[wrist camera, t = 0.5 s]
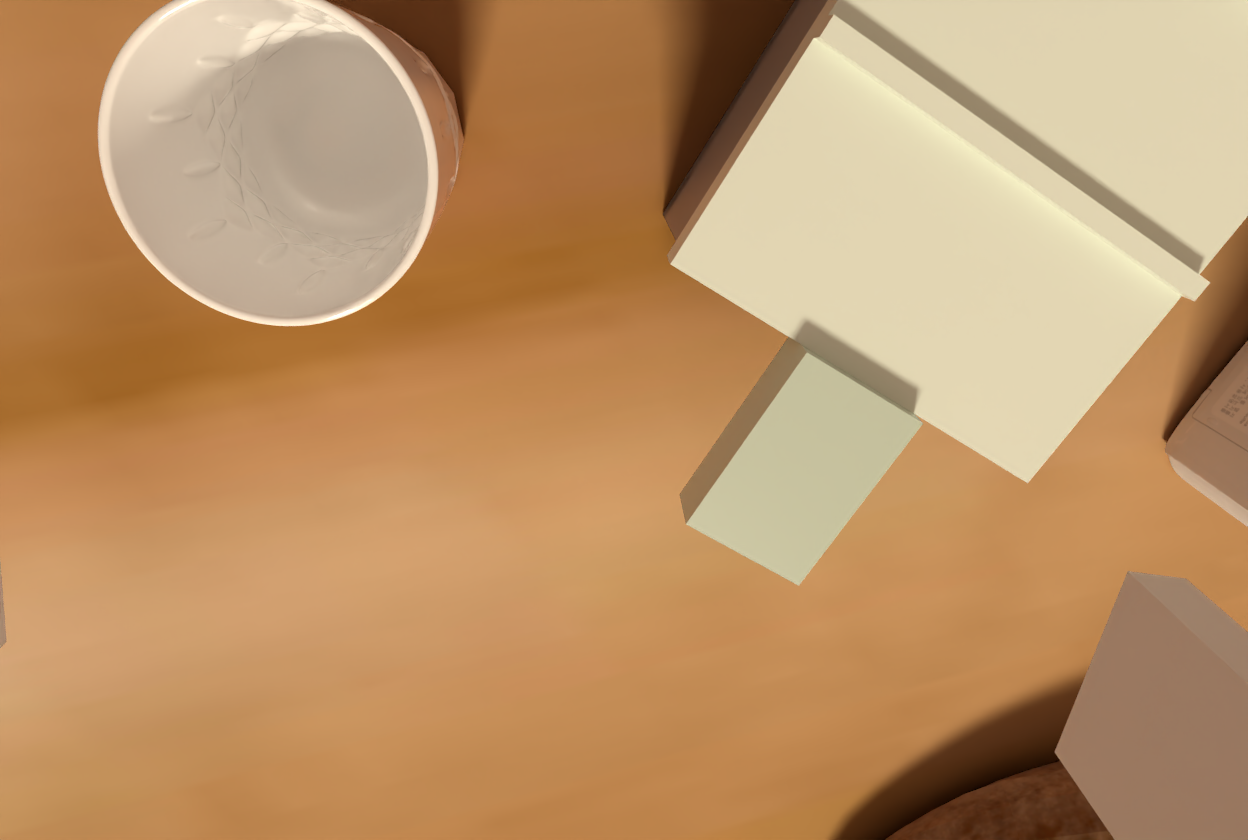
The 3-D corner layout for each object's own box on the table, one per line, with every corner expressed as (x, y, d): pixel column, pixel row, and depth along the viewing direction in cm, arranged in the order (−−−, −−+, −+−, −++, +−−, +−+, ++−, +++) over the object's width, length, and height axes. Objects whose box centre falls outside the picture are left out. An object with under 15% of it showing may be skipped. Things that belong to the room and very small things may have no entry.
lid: (559, 415, 29) (556, 453, 26) (1149, -525, 22) (1233, -612, 19) (883, 596, 32) (912, 647, 29) (1508, -183, 24) (1628, -215, 22)
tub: (662, 213, 33) (681, 252, 26) (1034, -387, 27) (1176, -527, 21) (931, 382, 36) (1009, 454, 29) (1322, -134, 30) (1528, -188, 23)
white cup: (415, -36, 30) (338, -80, 21) (519, 198, 33) (492, 254, 23) (196, 65, 31) (27, 67, 21) (315, 285, 33) (210, 373, 24)
